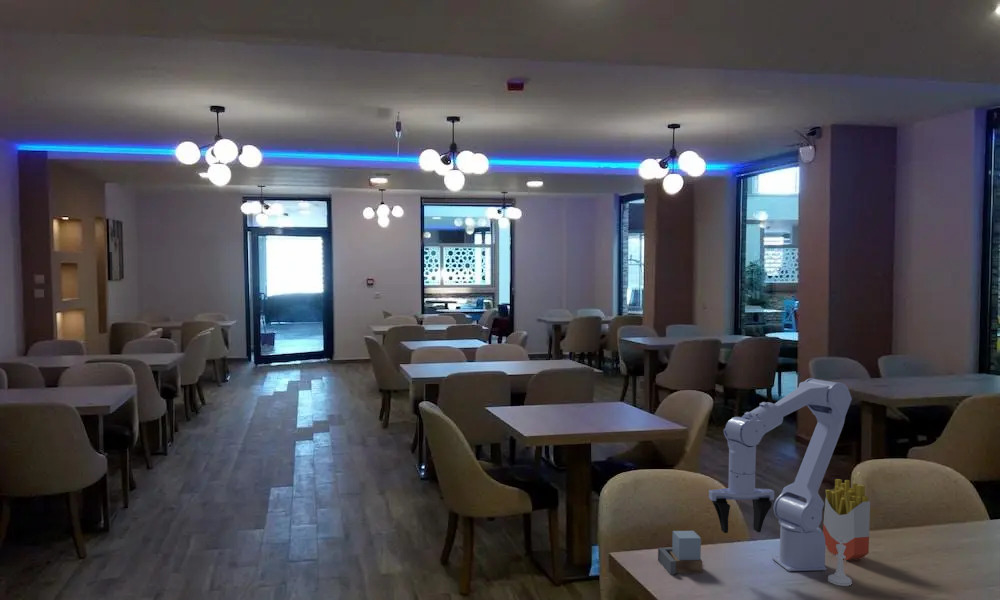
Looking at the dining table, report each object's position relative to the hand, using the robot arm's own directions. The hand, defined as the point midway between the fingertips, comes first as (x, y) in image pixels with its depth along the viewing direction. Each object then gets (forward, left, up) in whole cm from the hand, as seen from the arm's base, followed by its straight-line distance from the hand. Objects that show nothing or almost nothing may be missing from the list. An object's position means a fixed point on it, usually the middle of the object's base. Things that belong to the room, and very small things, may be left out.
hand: (740, 531), depth 170 cm
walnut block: (+11, -5, -10) cm, 16 cm away
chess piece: (-21, +5, -10) cm, 24 cm away
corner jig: (+11, -5, -10) cm, 16 cm away
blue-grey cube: (+11, -5, -7) cm, 14 cm away
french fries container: (-31, -10, -10) cm, 34 cm away
